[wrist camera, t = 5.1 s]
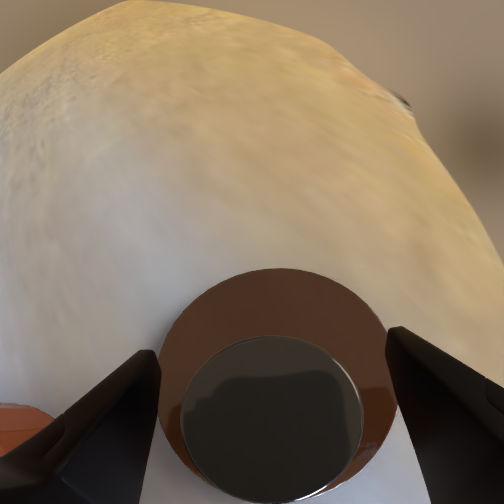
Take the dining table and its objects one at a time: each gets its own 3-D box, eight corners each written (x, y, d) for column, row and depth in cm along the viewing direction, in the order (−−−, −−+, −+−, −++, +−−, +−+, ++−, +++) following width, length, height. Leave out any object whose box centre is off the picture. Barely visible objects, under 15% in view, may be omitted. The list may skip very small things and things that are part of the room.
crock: (62, 562, 10) (14, 589, 4) (-22, 451, 13) (-78, 452, 7) (137, 506, 12) (81, 547, 7) (28, 373, 15) (-41, 361, 10)
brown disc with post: (287, 529, 11) (288, 673, 1) (121, 390, 15) (-44, 384, 5) (431, 363, 14) (590, 327, 4) (263, 233, 17) (241, 67, 7)
